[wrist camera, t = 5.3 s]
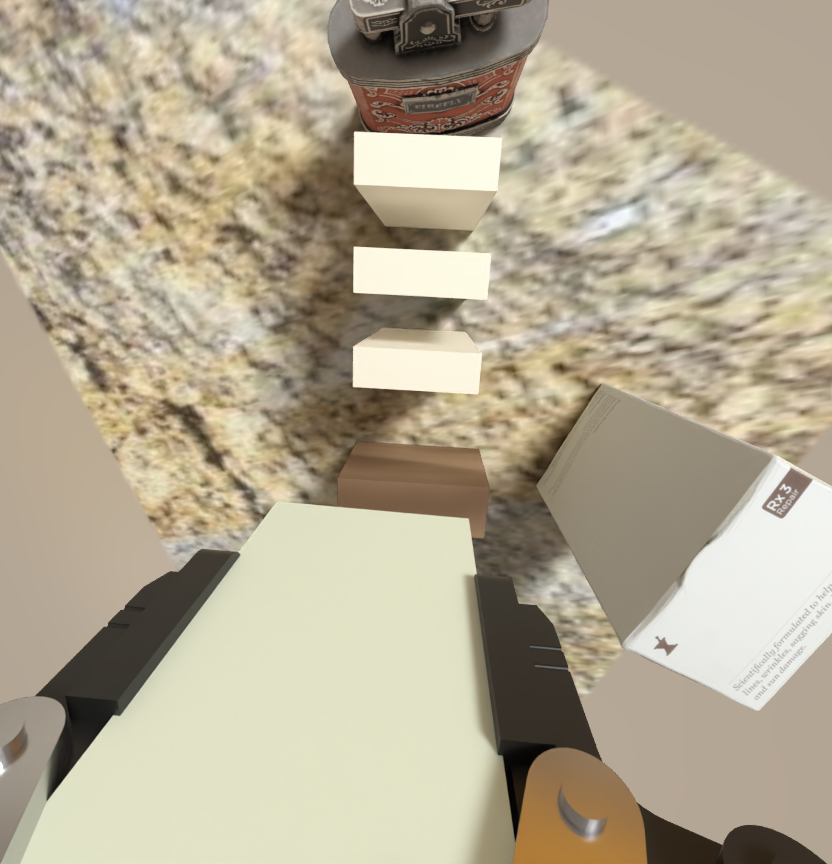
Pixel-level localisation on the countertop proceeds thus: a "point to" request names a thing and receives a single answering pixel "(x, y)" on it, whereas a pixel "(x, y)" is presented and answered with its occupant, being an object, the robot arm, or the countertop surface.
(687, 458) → the skincare box
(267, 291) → the countertop surface
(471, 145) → the domino
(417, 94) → the lighter
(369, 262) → the domino
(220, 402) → the countertop surface
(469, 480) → the block
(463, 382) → the domino
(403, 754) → the domino
